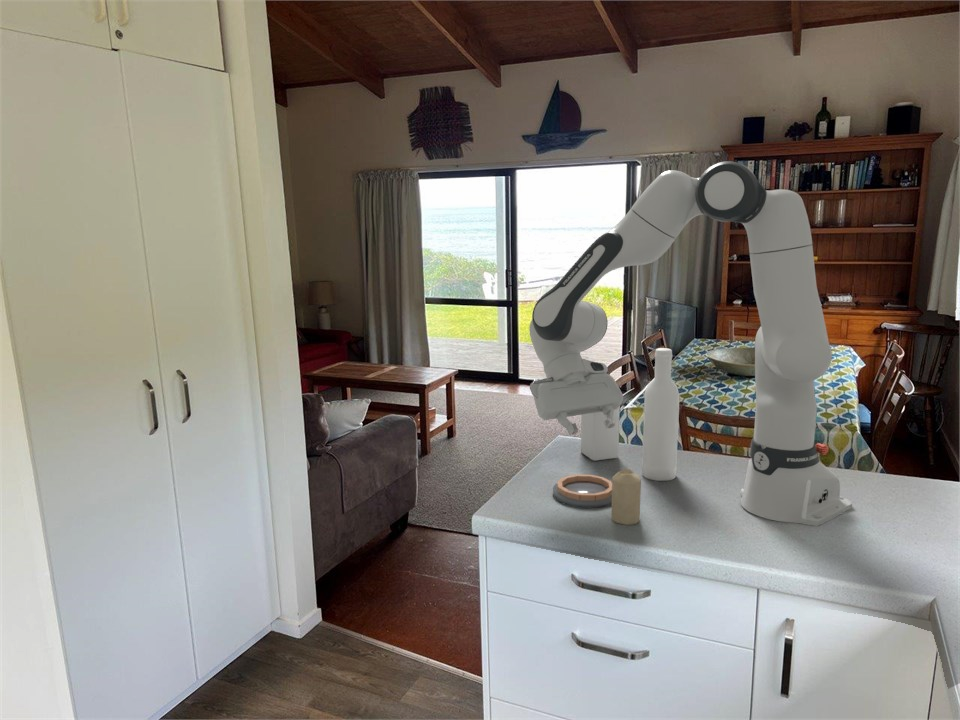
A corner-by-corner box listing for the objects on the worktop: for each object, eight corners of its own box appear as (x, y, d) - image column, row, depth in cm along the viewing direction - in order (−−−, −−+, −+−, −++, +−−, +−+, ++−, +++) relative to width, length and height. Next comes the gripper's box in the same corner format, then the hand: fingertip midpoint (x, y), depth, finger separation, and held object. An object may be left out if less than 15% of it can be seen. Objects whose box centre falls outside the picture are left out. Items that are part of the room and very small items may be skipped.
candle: (640, 526, 129) (641, 477, 127) (611, 524, 130) (612, 475, 128) (639, 514, 134) (640, 467, 132) (611, 512, 135) (612, 466, 133)
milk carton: (580, 452, 172) (581, 381, 169) (605, 449, 174) (606, 379, 171) (593, 461, 166) (594, 387, 162) (618, 458, 168) (620, 384, 164)
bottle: (636, 470, 159) (640, 346, 153) (668, 468, 160) (673, 345, 154) (648, 482, 151) (653, 352, 146) (681, 480, 152) (687, 351, 146)
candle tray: (593, 479, 154) (593, 469, 153) (631, 500, 141) (631, 489, 141) (541, 489, 148) (541, 479, 147) (576, 512, 135) (576, 501, 135)
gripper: (532, 372, 140) (556, 429, 133) (611, 363, 148) (638, 416, 141) (521, 388, 145) (544, 444, 138) (599, 379, 153) (624, 430, 146)
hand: (593, 430), depth 140 cm, fingers open, 8 cm apart
